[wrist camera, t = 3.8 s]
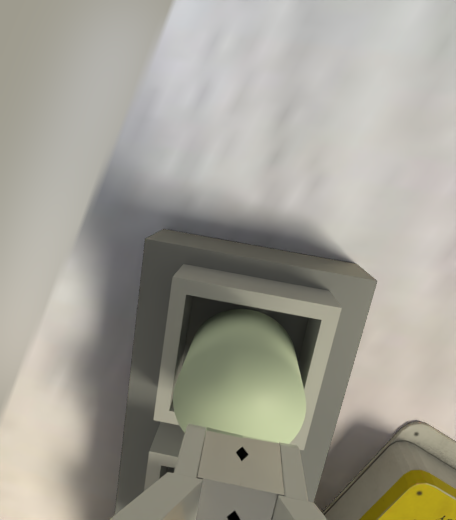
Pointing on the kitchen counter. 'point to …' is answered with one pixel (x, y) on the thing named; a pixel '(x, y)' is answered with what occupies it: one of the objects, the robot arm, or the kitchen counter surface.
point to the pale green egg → (242, 378)
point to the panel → (229, 298)
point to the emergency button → (403, 480)
